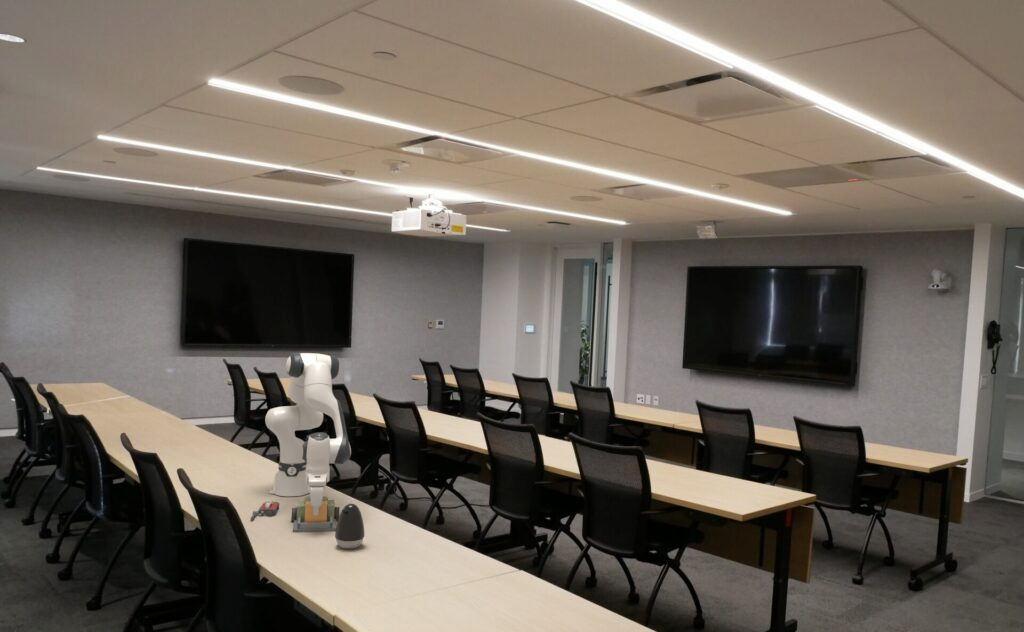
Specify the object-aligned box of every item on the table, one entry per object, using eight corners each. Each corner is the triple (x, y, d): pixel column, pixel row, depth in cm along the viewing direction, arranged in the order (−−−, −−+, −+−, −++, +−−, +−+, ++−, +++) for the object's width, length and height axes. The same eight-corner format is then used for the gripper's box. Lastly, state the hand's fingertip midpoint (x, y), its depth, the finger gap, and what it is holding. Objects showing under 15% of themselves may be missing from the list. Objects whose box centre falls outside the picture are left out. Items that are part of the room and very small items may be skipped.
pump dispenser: (328, 548, 252) (330, 505, 252) (344, 540, 262) (346, 498, 262) (353, 553, 249) (355, 509, 249) (369, 544, 259) (371, 502, 258)
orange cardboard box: (304, 519, 276) (305, 501, 276) (327, 519, 278) (328, 500, 278) (304, 523, 272) (305, 504, 272) (327, 522, 274) (328, 503, 274)
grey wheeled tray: (292, 517, 286) (293, 496, 286) (338, 516, 291) (339, 495, 291) (289, 532, 268) (290, 509, 268) (339, 530, 273) (340, 508, 272)
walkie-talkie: (258, 508, 298) (248, 522, 279) (258, 497, 298) (248, 511, 279) (280, 508, 300) (272, 522, 280) (280, 497, 300) (272, 511, 280)
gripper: (309, 470, 285) (308, 506, 284) (308, 482, 265) (306, 520, 265) (326, 470, 286) (324, 505, 286) (326, 482, 266) (324, 519, 266)
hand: (315, 512), depth 275 cm, fingers closed on orange cardboard box, 4 cm apart
